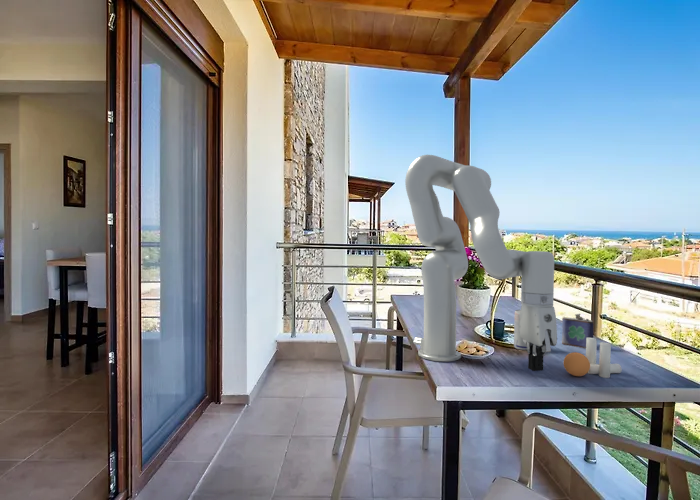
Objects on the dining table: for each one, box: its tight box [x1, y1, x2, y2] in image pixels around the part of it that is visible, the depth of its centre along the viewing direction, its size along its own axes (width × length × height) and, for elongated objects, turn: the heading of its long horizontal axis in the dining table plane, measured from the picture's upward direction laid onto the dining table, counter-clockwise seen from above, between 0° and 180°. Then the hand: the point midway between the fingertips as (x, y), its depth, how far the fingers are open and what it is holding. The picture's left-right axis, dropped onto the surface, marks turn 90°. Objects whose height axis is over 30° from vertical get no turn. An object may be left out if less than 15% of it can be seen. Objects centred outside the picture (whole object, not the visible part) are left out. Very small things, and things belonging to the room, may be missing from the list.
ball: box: [563, 351, 590, 377], centre depth 104 cm, size 6×6×6 cm
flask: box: [561, 313, 595, 349], centre depth 132 cm, size 9×3×11 cm, turn 45°
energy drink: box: [513, 309, 527, 351], centre depth 129 cm, size 5×5×12 cm
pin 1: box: [585, 337, 598, 365], centre depth 109 cm, size 2×2×8 cm
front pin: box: [587, 363, 623, 375], centre depth 106 cm, size 2×2×8 cm
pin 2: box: [598, 342, 612, 379], centre depth 104 cm, size 2×2×8 cm
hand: (535, 369), depth 104 cm, fingers closed
